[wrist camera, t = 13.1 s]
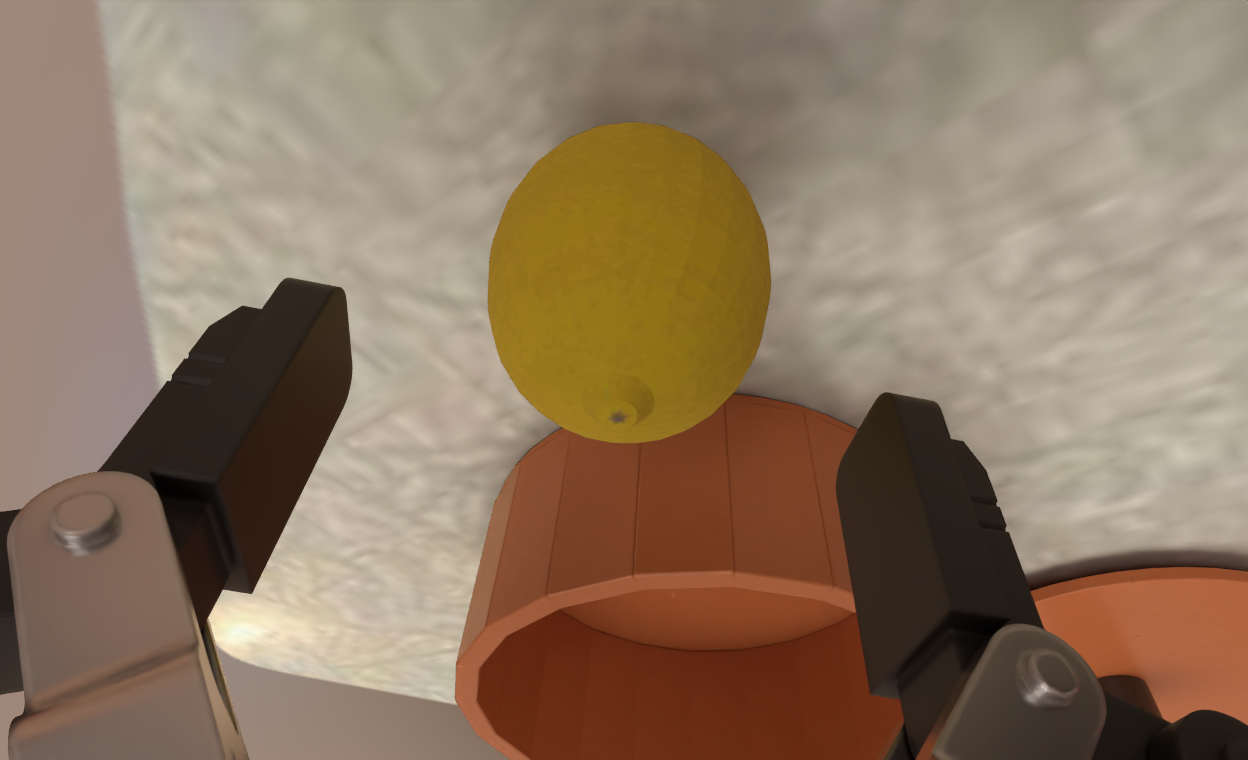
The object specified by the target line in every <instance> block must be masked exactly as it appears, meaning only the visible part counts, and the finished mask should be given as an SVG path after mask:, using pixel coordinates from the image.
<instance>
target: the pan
mask: <svg viewBox="0 0 1248 760" xmlns="http://www.w3.org/2000/svg"><path fill="white" fill-rule="evenodd" d="M857 431H858V430H856V429H854V428H853V427H851V426H849V425H847V424H845V423H843V422H840V421H838V420H836V419H834V418H832V417H830V416H828V415H825V414H823V413H819V412H816V411H813V410H810V409H807V408H804V407H801V406H798V405H795V404H791V403H786V402H781V401H777V400H772V399H768V398H762V397H754V396H745V395H736V394H732V395H731V396H730V397H729V398H728V399H727V400H726V401H725V402H724V403H723V404H722V405H721V406H720V407H719V408H718V409H717V410H716V411H715V412H714V413H713V414H712V415H711V416H709V417H707V418H706V419H704V420H702V421H701V422H699V423H697V424H696V425H694V426H693V427H691V428H689V429H687V430H685V431H683V432H681V433H678V434H675V435H672V436H669V437H667V438H664V439H661V440H655V441H649V442H642V443H610V442H605V441H600V440H595V439H590V438H586V437H584V436H581V435H579V434H576V433H574V432H571V431H569V430H566V429H564V428H561V429H559V430H558V431H556V432H554V433H552V434H551V435H549V436H548V437H547V438H545V439H544V440H543V441H541V442H540V443H539V444H537V445H536V446H535V447H533V448H532V449H531V450H530V451H529V452H528V453H527V454H526V455H525V456H524V457H523V458H522V459H521V460H520V461H519V462H518V464H517V465H516V466H515V467H514V469H513V470H512V472H511V473H510V475H509V476H508V478H507V479H506V481H505V482H504V485H503V487H502V490H501V492H500V494H499V496H498V497H497V499H496V500H495V503H494V507H493V511H492V515H491V519H490V523H489V528H488V532H487V536H486V540H485V544H484V548H483V553H482V557H481V561H480V565H479V569H478V574H477V578H476V582H475V586H474V590H473V595H472V599H471V603H470V607H469V611H468V616H467V620H466V624H465V628H464V632H463V636H462V641H461V645H460V649H459V653H458V657H457V662H456V683H455V700H456V703H457V705H458V706H459V708H460V709H461V711H462V712H463V714H464V716H465V717H466V718H467V720H468V722H469V723H470V725H471V726H472V728H473V730H474V731H475V733H476V734H477V735H478V736H479V737H480V738H481V739H483V740H484V741H486V742H487V743H488V744H490V745H491V746H492V747H494V748H495V749H497V750H498V751H499V752H501V753H502V754H504V755H505V756H506V757H507V758H509V759H510V760H876V758H877V757H878V755H879V753H880V751H881V750H882V748H883V746H884V745H885V743H886V741H887V740H888V738H889V736H890V735H891V733H892V731H893V729H894V728H895V726H896V725H897V724H898V723H899V722H900V721H901V720H902V719H903V718H904V717H903V712H902V707H901V702H900V700H899V699H893V698H887V697H880V696H874V695H870V691H869V685H868V679H867V673H866V667H865V662H864V656H863V650H862V644H861V638H860V632H859V626H858V620H857V614H856V609H855V603H854V597H853V591H852V585H851V579H850V573H849V567H848V561H847V556H846V550H845V544H844V538H843V532H842V526H841V520H840V514H839V509H838V503H837V496H836V479H837V472H838V468H839V465H840V462H841V459H842V457H843V455H844V453H845V451H846V450H847V448H848V446H849V445H850V443H851V441H852V440H853V438H854V436H855V435H856V433H857Z"/></svg>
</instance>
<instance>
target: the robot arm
mask: <svg viewBox="0 0 1248 760" xmlns="http://www.w3.org/2000/svg"><path fill="white" fill-rule="evenodd" d="M351 379H352V355H351V344H350V334H349V323H348V312H347V301H346V295H345V292H344V290H343V289H342V288H341V287H336V286H331V285H325V284H320V283H315V282H310V281H304V280H299V279H294V278H286V279H284V280H283V281H282V282H281V283H280V284H279V285H278V287H277V288H276V290H275V291H274V293H273V294H272V295H271V297H270V298H269V300H268V301H267V303H266V304H265V305H264V307H263V308H262V309H257V308H252V307H246V306H241V307H239V308H238V309H236V310H235V311H233V312H231V313H230V314H228V315H227V316H225V317H223V318H222V319H220V320H219V321H217V322H215V323H214V324H212V325H210V326H209V327H208V329H207V330H206V331H205V332H204V334H203V335H202V336H201V338H200V339H199V340H198V342H197V343H196V344H195V346H194V347H193V348H192V350H191V351H190V352H189V357H188V359H184V360H183V361H182V363H181V364H180V365H179V367H178V368H177V369H176V370H175V372H174V373H173V374H172V379H171V381H167V382H166V384H165V385H164V386H163V388H162V389H161V390H160V391H159V393H158V394H157V395H156V397H155V398H154V399H153V401H152V402H151V403H150V405H149V406H148V407H147V409H146V410H145V411H144V412H143V414H142V415H141V416H140V418H139V419H138V420H137V422H136V423H135V424H134V426H133V427H132V428H131V430H130V431H129V432H128V433H127V435H126V436H125V437H124V439H123V440H122V441H121V443H120V444H119V445H118V446H117V448H116V449H115V450H114V452H113V453H112V454H111V456H110V457H109V458H108V460H107V461H106V462H105V463H104V465H103V466H102V467H101V468H100V469H99V470H98V471H97V472H93V473H88V474H83V475H79V476H75V477H72V478H69V479H66V480H64V481H62V482H59V483H57V484H55V485H53V486H51V487H49V488H48V489H46V490H44V491H43V492H41V493H40V494H38V495H37V496H36V497H34V498H33V499H32V500H31V501H30V502H29V503H27V504H26V505H25V506H24V507H23V508H22V509H18V510H12V511H5V512H0V695H1V694H6V693H13V692H19V691H24V696H25V708H24V712H23V714H22V715H20V716H18V717H15V718H14V719H13V721H12V722H11V724H10V729H9V736H8V754H9V760H249V757H248V753H247V750H246V747H245V744H244V741H243V737H242V734H241V730H240V727H239V723H238V720H237V716H236V713H235V709H234V706H233V702H232V699H231V695H230V692H229V688H228V685H227V682H226V678H225V674H224V671H223V667H222V664H221V661H220V657H219V654H218V650H217V646H216V643H215V640H214V636H213V633H212V629H211V626H210V622H209V619H208V617H209V615H210V613H211V611H212V609H213V607H214V605H215V603H216V601H217V599H218V598H219V596H220V594H221V592H222V590H230V591H236V592H242V593H249V594H252V593H253V591H254V588H255V586H256V584H257V582H258V580H259V578H260V576H261V574H262V572H263V570H264V568H265V566H266V564H267V562H268V560H269V558H270V556H271V554H272V552H273V550H274V548H275V546H276V544H277V542H278V540H279V538H280V536H281V534H282V532H283V530H284V527H285V525H286V523H287V521H288V519H289V517H290V515H291V513H292V511H293V509H294V507H295V505H296V503H297V501H298V499H299V497H300V495H301V493H302V491H303V489H304V487H305V485H306V483H307V481H308V479H309V477H310V475H311V473H312V471H313V468H314V466H315V464H316V462H317V460H318V458H319V456H320V454H321V452H322V450H323V448H324V446H325V444H326V442H327V440H328V438H329V436H330V434H331V432H332V430H333V428H334V426H335V424H336V422H337V420H338V418H339V416H340V414H341V412H342V409H343V407H344V405H345V403H346V400H347V397H348V394H349V390H350V385H351ZM836 496H837V503H838V509H839V514H840V520H841V526H842V532H843V538H844V544H845V550H846V556H847V561H848V567H849V573H850V579H851V585H852V591H853V597H854V603H855V609H856V614H857V620H858V626H859V632H860V638H861V644H862V650H863V656H864V662H865V667H866V673H867V679H868V685H869V691H870V695H874V696H880V697H887V698H893V699H899V700H900V702H901V707H902V712H903V717H904V718H903V719H902V720H901V721H900V722H899V723H898V724H897V725H896V726H895V728H894V729H893V731H892V733H891V735H890V736H889V738H888V740H887V741H886V743H885V745H884V746H883V748H882V750H881V751H880V753H879V755H878V757H877V758H876V760H1248V725H1246V724H1245V723H1243V722H1241V721H1240V720H1238V719H1236V718H1234V717H1232V716H1229V715H1227V714H1225V713H1221V712H1218V711H1213V710H1197V711H1194V712H1191V713H1189V714H1187V715H1186V716H1184V717H1182V718H1180V719H1179V720H1177V721H1175V722H1174V723H1171V722H1168V721H1166V720H1164V719H1162V718H1160V717H1158V716H1156V715H1154V714H1152V713H1149V712H1147V711H1145V710H1143V709H1141V708H1139V707H1137V706H1135V705H1133V704H1130V703H1128V702H1126V701H1124V700H1122V699H1120V698H1118V697H1116V696H1113V695H1111V694H1109V693H1108V692H1106V691H1104V690H1103V689H1102V687H1101V684H1100V682H1099V680H1098V679H1097V677H1096V675H1095V673H1094V672H1093V670H1092V669H1091V667H1090V666H1089V665H1088V663H1087V662H1086V661H1085V660H1084V659H1083V657H1082V656H1081V655H1080V654H1079V653H1078V652H1077V651H1076V650H1075V649H1074V648H1073V647H1071V646H1070V645H1069V644H1068V643H1066V642H1065V641H1064V640H1062V639H1061V638H1059V637H1058V636H1056V635H1054V634H1053V633H1051V632H1049V631H1047V630H1045V629H1044V626H1043V624H1042V621H1041V619H1040V616H1039V613H1038V610H1037V608H1036V605H1035V602H1034V600H1033V597H1032V594H1031V591H1030V589H1029V586H1028V583H1027V580H1026V578H1025V575H1024V572H1023V570H1022V567H1021V564H1020V561H1019V559H1018V556H1017V553H1016V550H1015V548H1014V545H1013V542H1012V539H1011V537H1010V534H1009V532H1006V531H1005V528H1006V523H1005V520H1004V518H1003V515H1002V512H1001V509H1000V507H997V506H996V503H997V499H996V496H995V493H994V490H993V488H992V485H991V482H990V479H989V477H988V474H987V471H986V470H985V468H984V467H983V466H982V464H981V463H980V462H979V461H978V459H977V458H976V457H975V456H974V454H973V453H972V452H971V450H970V449H969V448H968V447H967V445H966V444H965V443H964V442H963V441H959V440H953V439H951V438H950V435H949V432H948V429H947V426H946V423H945V420H944V417H943V414H942V411H941V408H940V407H939V405H938V404H937V403H936V402H934V401H930V400H925V399H920V398H914V397H909V396H904V395H898V394H893V393H888V392H886V393H883V394H881V395H880V396H879V397H878V398H877V399H876V401H875V402H874V404H873V406H872V408H871V409H870V411H869V413H868V414H867V416H866V418H865V419H864V421H863V423H862V424H861V426H860V428H859V429H858V431H857V433H856V435H855V436H854V438H853V440H852V441H851V443H850V445H849V446H848V448H847V450H846V451H845V453H844V455H843V457H842V459H841V462H840V465H839V468H838V472H837V479H836Z"/></svg>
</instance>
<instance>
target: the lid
mask: <svg viewBox="0 0 1248 760" xmlns="http://www.w3.org/2000/svg"><path fill="white" fill-rule="evenodd" d="M1031 594H1032V597H1033V600H1034V602H1035V605H1036V608H1037V610H1038V613H1039V616H1040V619H1041V621H1042V624H1043V626H1044V629H1045V630H1047V631H1049V632H1051V633H1053V634H1054V635H1056V636H1058V637H1059V638H1061V639H1062V640H1064V641H1065V642H1066V643H1068V644H1069V645H1070V646H1071V647H1073V648H1074V649H1075V650H1076V651H1077V652H1078V653H1079V654H1080V655H1081V656H1082V657H1083V659H1084V660H1085V661H1086V662H1087V663H1088V665H1089V666H1090V667H1091V669H1092V670H1093V672H1094V673H1095V675H1096V677H1097V679H1098V680H1099V682H1100V684H1101V687H1102V689H1103V690H1104V691H1106V692H1108V693H1109V694H1111V695H1113V696H1116V697H1118V698H1120V699H1122V700H1124V701H1126V702H1128V703H1130V704H1133V705H1135V706H1137V707H1139V708H1141V709H1143V710H1145V711H1147V712H1149V713H1152V714H1154V715H1156V716H1158V717H1160V718H1162V719H1164V720H1166V721H1168V722H1171V723H1174V722H1175V721H1177V720H1179V719H1180V718H1182V717H1184V716H1186V715H1187V714H1189V713H1191V712H1194V711H1197V710H1213V711H1218V712H1221V713H1225V714H1227V715H1229V716H1232V717H1234V718H1236V719H1238V720H1240V721H1241V722H1243V723H1245V724H1246V725H1248V572H1246V571H1238V570H1229V569H1220V568H1201V567H1169V568H1147V569H1138V570H1128V571H1119V572H1112V573H1106V574H1100V575H1094V576H1088V577H1083V578H1078V579H1074V580H1070V581H1065V582H1061V583H1057V584H1053V585H1049V586H1046V587H1043V588H1039V589H1036V590H1033V591H1031Z"/></svg>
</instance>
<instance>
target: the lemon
mask: <svg viewBox="0 0 1248 760" xmlns="http://www.w3.org/2000/svg"><path fill="white" fill-rule="evenodd" d="M770 292H771V273H770V263H769V252H768V242H767V237H766V232H765V229H764V226H763V224H762V221H761V219H760V216H759V214H758V212H757V209H756V207H755V205H754V202H753V200H752V198H751V195H750V193H749V191H748V190H747V188H746V186H745V185H744V184H743V183H742V181H741V180H740V179H739V178H738V176H737V175H736V174H735V173H734V171H733V170H732V169H731V168H730V167H729V165H728V164H727V163H726V162H725V161H724V159H723V158H722V157H721V156H719V155H718V154H717V153H715V152H714V151H712V150H711V149H710V148H708V147H707V146H706V145H704V144H703V143H701V142H700V141H699V140H697V139H696V138H694V137H692V136H689V135H687V134H684V133H681V132H679V131H676V130H674V129H671V128H668V127H666V126H663V125H655V124H647V123H639V122H626V123H618V124H609V125H602V126H598V127H595V128H593V129H590V130H588V131H585V132H583V133H580V134H578V135H575V136H572V137H570V138H568V139H567V140H565V141H564V142H563V143H561V144H560V145H559V146H557V147H556V148H555V149H553V150H552V151H551V152H549V153H548V154H547V155H545V156H544V157H543V158H541V159H540V160H539V161H538V162H537V163H536V164H535V165H534V166H533V167H532V169H531V170H530V171H529V173H528V174H527V175H526V176H525V178H524V179H523V180H522V182H521V183H520V184H519V186H518V187H517V188H516V189H515V191H514V192H513V194H512V195H511V197H510V199H509V200H508V202H507V205H506V207H505V210H504V212H503V215H502V218H501V220H500V223H499V226H498V228H497V231H496V234H495V237H494V239H493V243H492V247H491V253H490V261H489V281H488V311H489V318H490V323H491V328H492V332H493V336H494V340H495V344H496V348H497V352H498V354H499V357H500V360H501V363H502V364H503V366H504V368H505V369H506V371H507V373H508V374H509V376H510V378H511V379H512V381H513V383H514V384H515V386H516V387H517V389H518V390H519V392H520V393H521V394H522V395H523V396H524V397H525V398H526V399H527V400H528V401H529V402H530V403H531V404H532V405H533V406H534V407H535V408H536V409H537V410H538V411H539V412H540V413H541V414H543V415H544V416H545V417H547V418H549V419H550V420H552V421H553V422H555V423H556V424H558V425H559V426H561V427H563V428H564V429H566V430H569V431H571V432H574V433H576V434H579V435H581V436H584V437H586V438H590V439H595V440H600V441H605V442H610V443H642V442H649V441H655V440H661V439H664V438H667V437H669V436H672V435H675V434H678V433H681V432H683V431H685V430H687V429H689V428H691V427H693V426H694V425H696V424H697V423H699V422H701V421H702V420H704V419H706V418H707V417H709V416H711V415H712V414H713V413H714V412H715V411H716V410H717V409H718V408H719V407H720V406H721V405H722V404H723V403H724V402H725V401H726V400H727V399H728V398H729V397H730V396H731V395H732V394H733V393H734V392H735V391H736V390H737V388H738V386H739V385H740V383H741V381H742V379H743V378H744V376H745V374H746V372H747V370H748V369H749V367H750V365H751V363H752V361H753V359H754V358H755V355H756V353H757V350H758V348H759V345H760V341H761V338H762V334H763V329H764V324H765V320H766V315H767V310H768V305H769V299H770Z"/></svg>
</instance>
